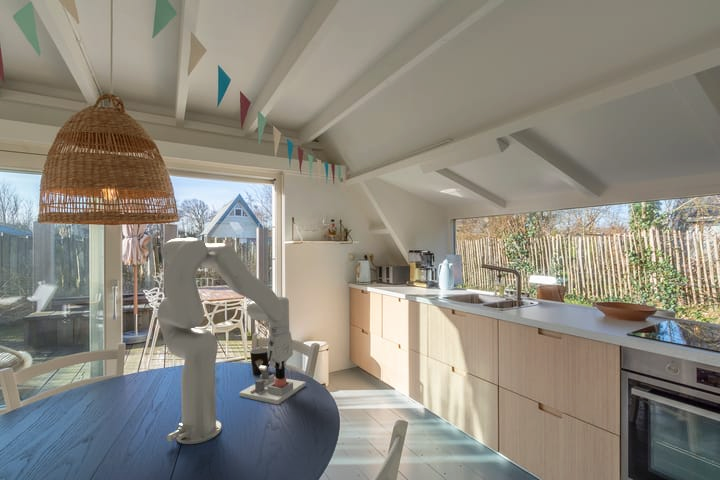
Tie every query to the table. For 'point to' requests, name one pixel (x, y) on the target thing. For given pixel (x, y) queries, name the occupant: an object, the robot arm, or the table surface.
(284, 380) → the button
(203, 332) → the robot arm
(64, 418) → the table surface
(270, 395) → the panel
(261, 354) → the coffee mug
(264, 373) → the lever
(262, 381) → the slider
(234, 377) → the table surface
